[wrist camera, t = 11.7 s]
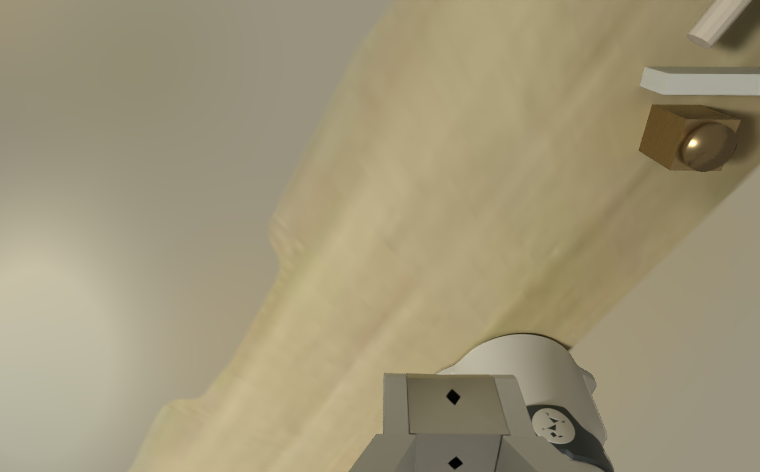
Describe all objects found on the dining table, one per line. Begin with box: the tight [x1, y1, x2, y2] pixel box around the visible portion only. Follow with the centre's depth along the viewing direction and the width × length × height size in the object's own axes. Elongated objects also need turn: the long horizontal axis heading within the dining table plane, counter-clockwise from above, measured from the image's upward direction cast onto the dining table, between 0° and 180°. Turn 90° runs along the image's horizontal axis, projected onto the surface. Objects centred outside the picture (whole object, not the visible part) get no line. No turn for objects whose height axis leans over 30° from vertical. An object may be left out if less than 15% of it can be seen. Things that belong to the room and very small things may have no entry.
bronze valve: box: [639, 104, 741, 172], centre depth 36 cm, size 4×4×6 cm
